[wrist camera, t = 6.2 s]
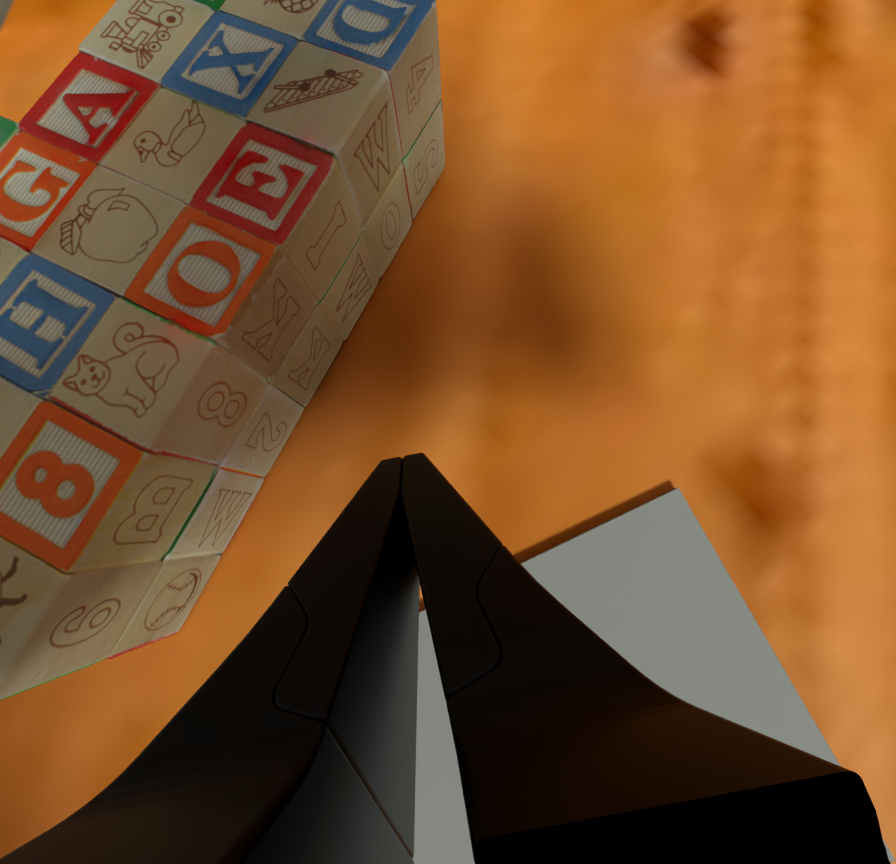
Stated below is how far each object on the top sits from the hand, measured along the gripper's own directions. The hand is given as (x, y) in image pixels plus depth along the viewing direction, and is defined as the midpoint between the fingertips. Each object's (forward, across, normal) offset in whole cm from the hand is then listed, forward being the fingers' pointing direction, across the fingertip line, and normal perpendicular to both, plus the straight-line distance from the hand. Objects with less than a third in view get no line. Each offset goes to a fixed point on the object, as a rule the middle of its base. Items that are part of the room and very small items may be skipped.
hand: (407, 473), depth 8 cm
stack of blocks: (+6, +3, -1) cm, 7 cm away
